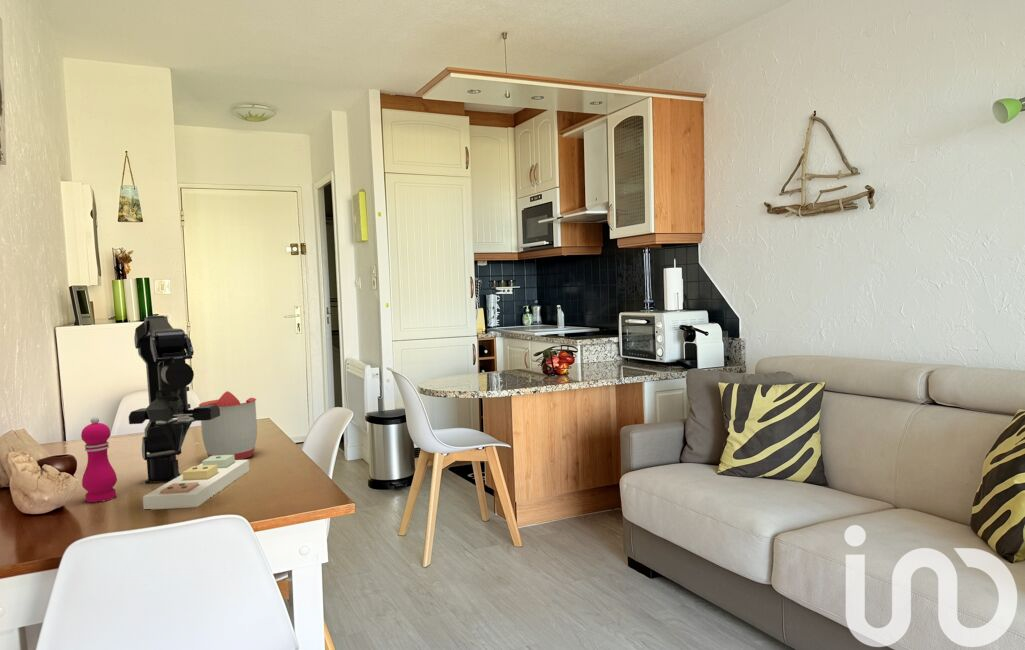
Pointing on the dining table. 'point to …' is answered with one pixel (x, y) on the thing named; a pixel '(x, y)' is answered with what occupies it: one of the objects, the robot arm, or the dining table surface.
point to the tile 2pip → (200, 472)
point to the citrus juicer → (231, 428)
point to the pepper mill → (98, 463)
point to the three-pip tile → (179, 488)
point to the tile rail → (195, 489)
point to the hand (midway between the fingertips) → (177, 451)
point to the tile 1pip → (219, 461)
